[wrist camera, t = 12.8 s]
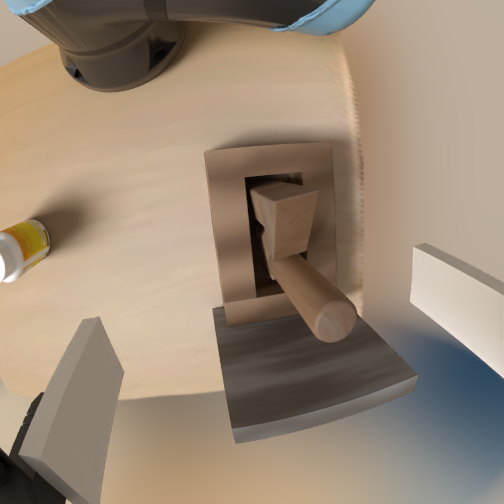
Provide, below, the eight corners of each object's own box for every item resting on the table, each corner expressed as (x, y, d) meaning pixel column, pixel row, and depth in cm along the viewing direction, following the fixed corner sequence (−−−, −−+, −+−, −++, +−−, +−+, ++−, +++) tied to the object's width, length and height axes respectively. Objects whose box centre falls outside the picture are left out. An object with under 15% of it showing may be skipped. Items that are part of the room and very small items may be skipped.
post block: (190, 154, 32) (183, 140, 14) (324, 144, 35) (442, 136, 16) (214, 322, 39) (235, 443, 20) (330, 301, 41) (413, 390, 22)
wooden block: (272, 178, 35) (343, 194, 18) (292, 262, 38) (362, 335, 21) (242, 186, 34) (288, 209, 18) (264, 270, 38) (318, 353, 21)
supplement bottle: (24, 211, 30) (-22, 229, 20) (56, 229, 32) (15, 252, 22) (14, 250, 31) (-28, 276, 21) (45, 267, 32) (7, 300, 23)
